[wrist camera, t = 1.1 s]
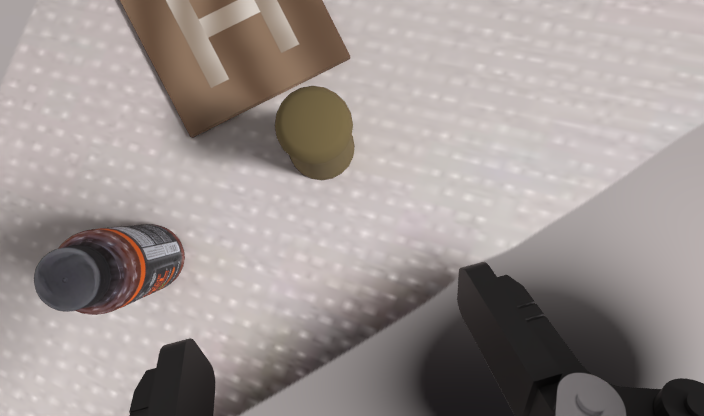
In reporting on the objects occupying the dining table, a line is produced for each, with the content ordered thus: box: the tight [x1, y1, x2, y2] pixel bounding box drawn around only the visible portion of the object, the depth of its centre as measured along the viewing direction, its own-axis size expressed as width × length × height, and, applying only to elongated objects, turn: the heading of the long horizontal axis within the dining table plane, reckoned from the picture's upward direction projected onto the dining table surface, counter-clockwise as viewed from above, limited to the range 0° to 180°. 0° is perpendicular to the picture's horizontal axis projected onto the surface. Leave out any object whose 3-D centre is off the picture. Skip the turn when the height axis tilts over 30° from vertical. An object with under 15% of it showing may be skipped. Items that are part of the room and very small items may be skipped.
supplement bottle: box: [34, 225, 185, 315], centre depth 29 cm, size 6×6×11 cm
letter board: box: [120, 0, 350, 137], centre depth 35 cm, size 16×16×1 cm
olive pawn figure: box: [275, 86, 355, 180], centre depth 30 cm, size 6×6×11 cm
